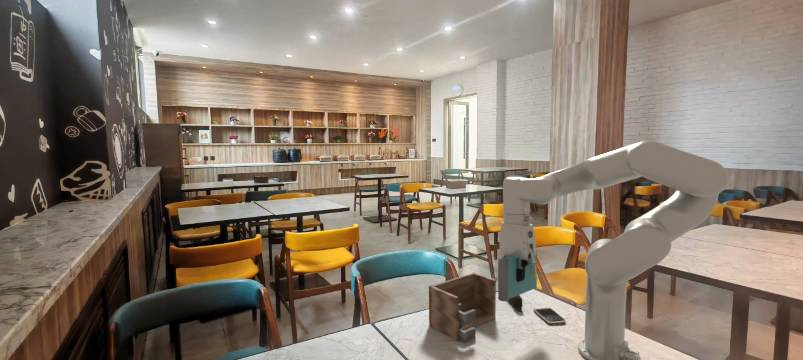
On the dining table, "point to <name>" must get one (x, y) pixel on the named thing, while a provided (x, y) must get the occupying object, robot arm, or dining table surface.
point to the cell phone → (549, 316)
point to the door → (514, 278)
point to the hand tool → (516, 302)
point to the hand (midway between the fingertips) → (516, 279)
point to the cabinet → (462, 305)
